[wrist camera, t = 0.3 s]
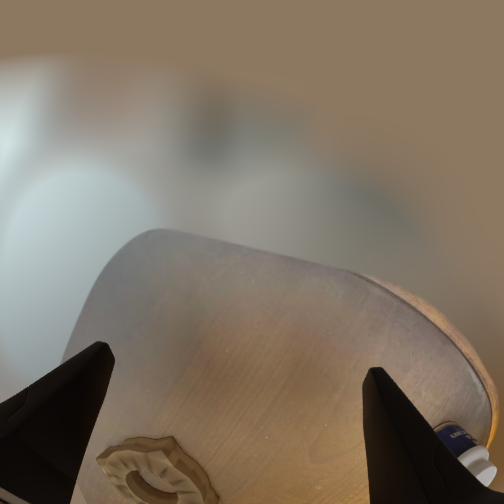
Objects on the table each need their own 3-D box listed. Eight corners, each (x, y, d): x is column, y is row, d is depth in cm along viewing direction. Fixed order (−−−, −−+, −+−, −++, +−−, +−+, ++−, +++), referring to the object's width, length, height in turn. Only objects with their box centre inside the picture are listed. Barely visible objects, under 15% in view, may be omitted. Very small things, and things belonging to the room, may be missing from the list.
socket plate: (228, 501, 22) (223, 517, 19) (151, 508, 22) (143, 521, 19) (174, 429, 23) (163, 443, 20) (100, 443, 24) (87, 454, 21)
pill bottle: (464, 418, 20) (511, 454, 10) (446, 456, 19) (484, 497, 10) (429, 422, 20) (475, 467, 11) (411, 461, 20) (445, 511, 10)
